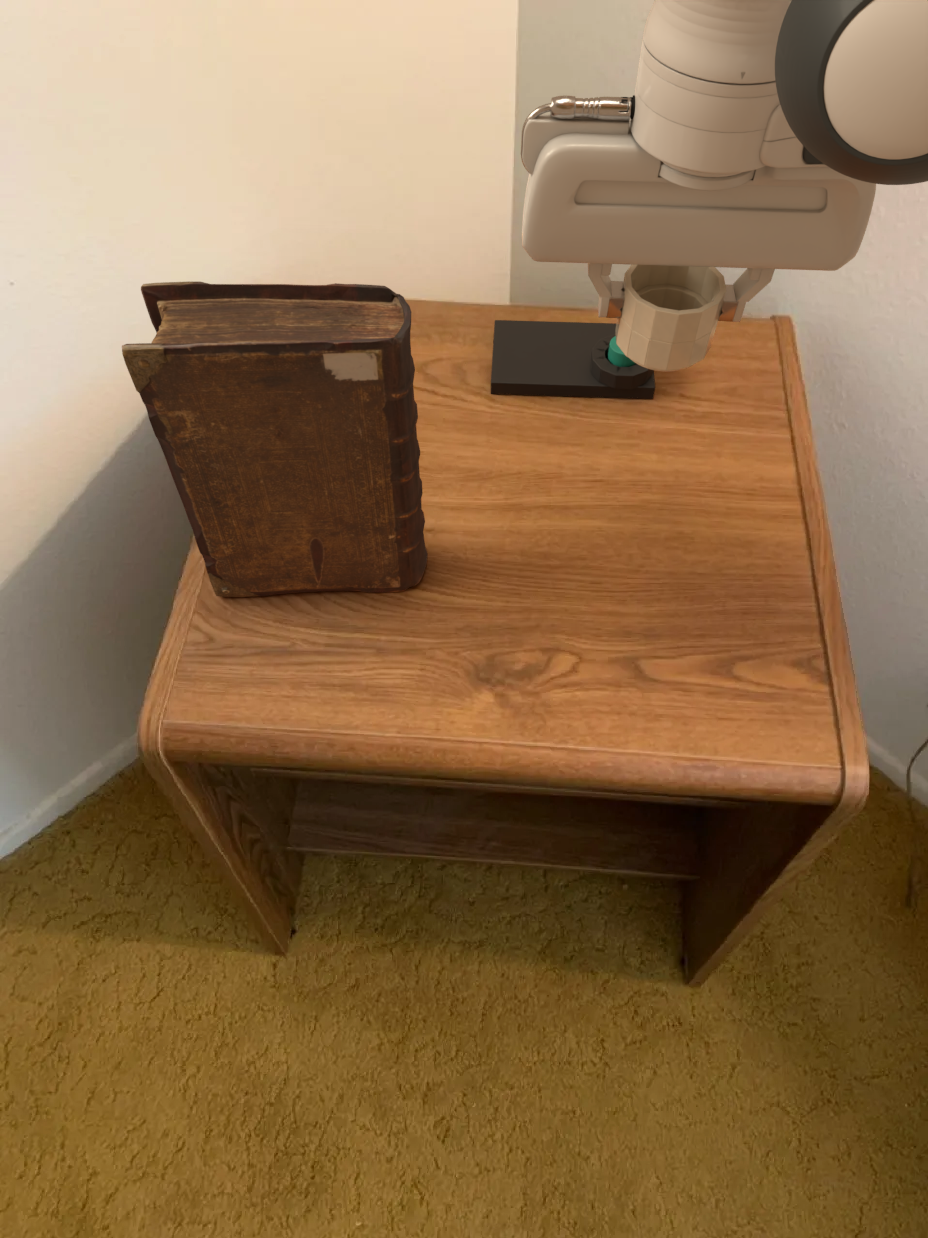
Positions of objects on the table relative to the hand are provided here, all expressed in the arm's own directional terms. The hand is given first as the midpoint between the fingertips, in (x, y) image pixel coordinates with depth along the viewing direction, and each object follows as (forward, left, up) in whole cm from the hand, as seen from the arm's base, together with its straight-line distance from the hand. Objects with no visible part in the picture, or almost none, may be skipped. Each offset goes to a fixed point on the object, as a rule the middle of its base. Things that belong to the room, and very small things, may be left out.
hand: (668, 314), depth 61 cm
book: (+25, +8, -20) cm, 33 cm away
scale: (+5, -18, -20) cm, 27 cm away
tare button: (0, -16, -17) cm, 24 cm away
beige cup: (0, 0, -3) cm, 2 cm away
